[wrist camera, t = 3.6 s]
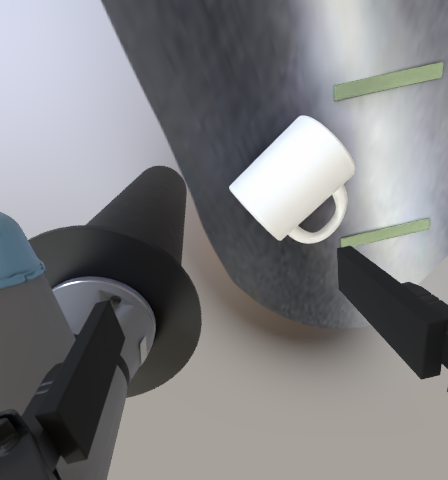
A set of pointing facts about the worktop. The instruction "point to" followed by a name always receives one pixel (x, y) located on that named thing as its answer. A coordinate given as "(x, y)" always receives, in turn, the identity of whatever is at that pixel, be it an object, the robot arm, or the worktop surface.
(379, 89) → the strips
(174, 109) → the worktop surface
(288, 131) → the mug
